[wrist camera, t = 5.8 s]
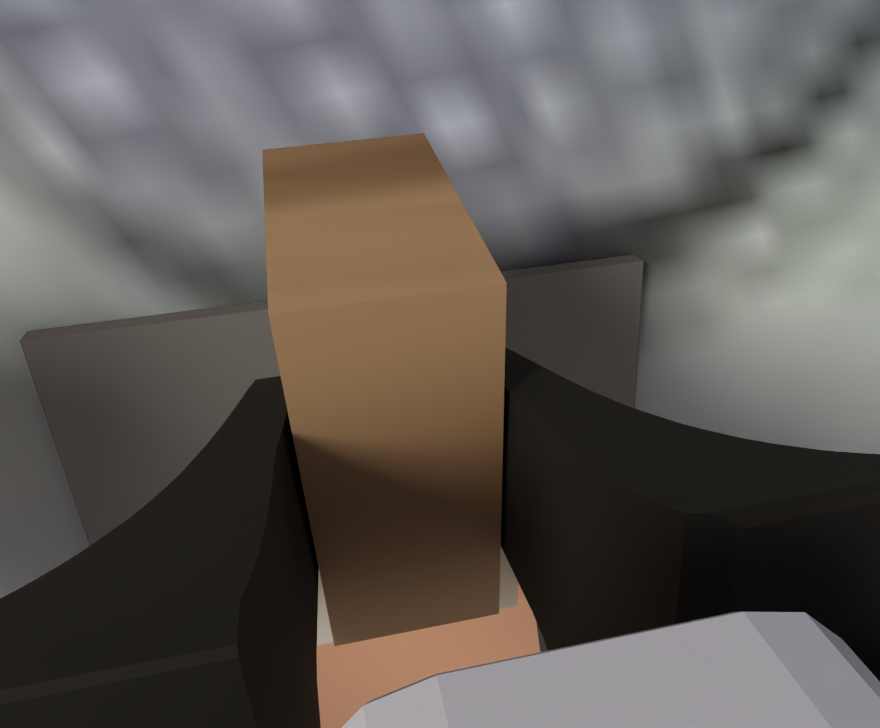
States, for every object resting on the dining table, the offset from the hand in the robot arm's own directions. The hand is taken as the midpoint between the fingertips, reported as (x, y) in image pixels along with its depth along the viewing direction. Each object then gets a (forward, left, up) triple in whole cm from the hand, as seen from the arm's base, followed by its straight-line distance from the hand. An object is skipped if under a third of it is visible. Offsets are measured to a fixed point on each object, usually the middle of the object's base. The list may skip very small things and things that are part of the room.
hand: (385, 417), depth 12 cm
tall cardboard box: (0, -2, -3) cm, 4 cm away
